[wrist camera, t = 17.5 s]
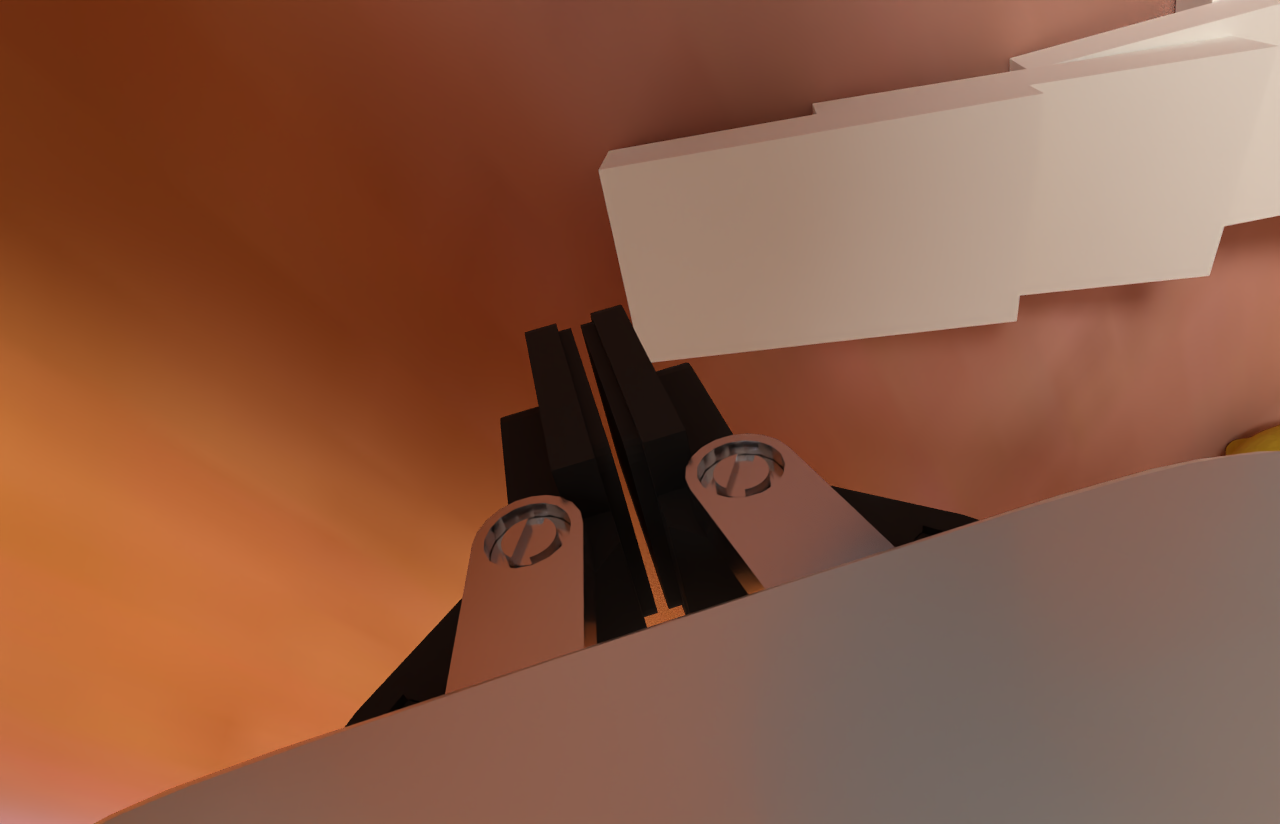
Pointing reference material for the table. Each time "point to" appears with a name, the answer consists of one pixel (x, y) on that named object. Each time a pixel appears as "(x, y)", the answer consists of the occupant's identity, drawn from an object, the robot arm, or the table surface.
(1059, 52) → the tile
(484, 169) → the table surface
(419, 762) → the robot arm
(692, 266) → the tile
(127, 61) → the table surface
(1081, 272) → the tile
